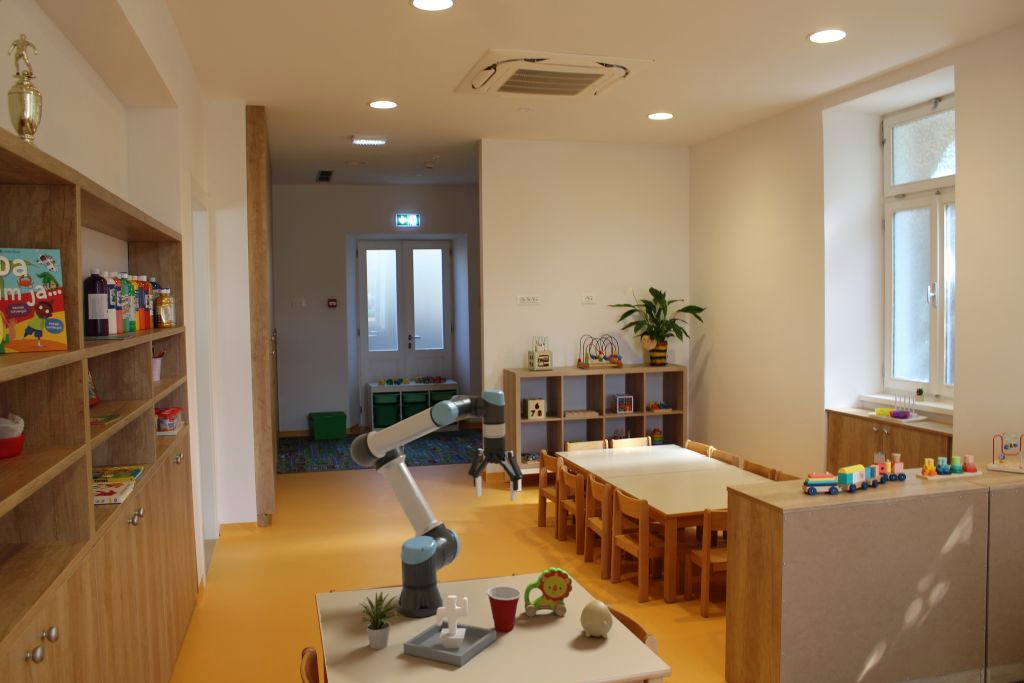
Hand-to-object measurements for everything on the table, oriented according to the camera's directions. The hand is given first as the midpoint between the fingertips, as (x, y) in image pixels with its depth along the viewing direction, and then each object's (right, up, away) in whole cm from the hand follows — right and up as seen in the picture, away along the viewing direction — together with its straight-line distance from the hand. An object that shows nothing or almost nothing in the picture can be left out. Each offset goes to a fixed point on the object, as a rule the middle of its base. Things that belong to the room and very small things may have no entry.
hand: (496, 498), depth 275 cm
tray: (-13, -39, -32) cm, 52 cm away
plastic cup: (+3, -38, -19) cm, 42 cm away
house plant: (-35, -39, -31) cm, 61 cm away
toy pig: (+32, -37, -25) cm, 55 cm away
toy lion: (+18, -37, -7) cm, 42 cm away
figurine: (-12, -38, -32) cm, 51 cm away
